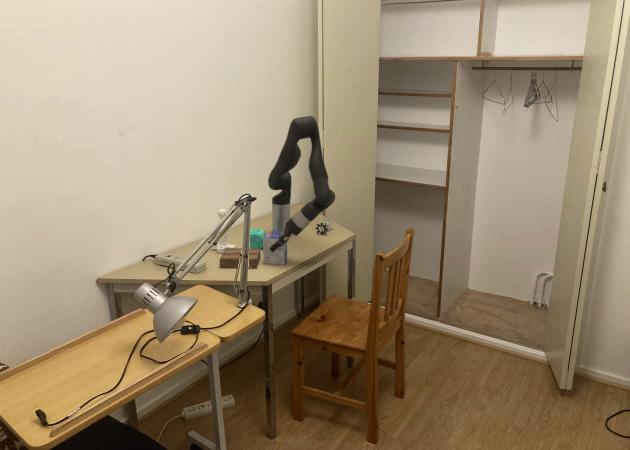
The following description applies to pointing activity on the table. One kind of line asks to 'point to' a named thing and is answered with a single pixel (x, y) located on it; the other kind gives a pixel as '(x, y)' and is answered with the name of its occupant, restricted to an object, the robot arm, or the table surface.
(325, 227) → the valve
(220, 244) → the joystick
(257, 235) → the decorative dice
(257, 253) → the walnut stand
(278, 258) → the ink cartridge box
